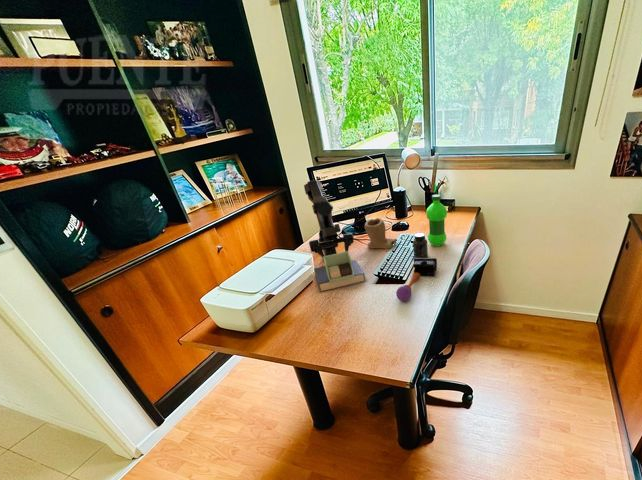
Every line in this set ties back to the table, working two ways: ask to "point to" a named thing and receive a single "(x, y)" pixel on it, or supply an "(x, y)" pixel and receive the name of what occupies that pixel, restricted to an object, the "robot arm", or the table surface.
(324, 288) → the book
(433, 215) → the plastic bottle
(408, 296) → the kendama
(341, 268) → the walnut block
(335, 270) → the cream block
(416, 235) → the supplement bottle
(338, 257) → the green arch-shaped block
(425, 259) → the end cap
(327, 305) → the table surface
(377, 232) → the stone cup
